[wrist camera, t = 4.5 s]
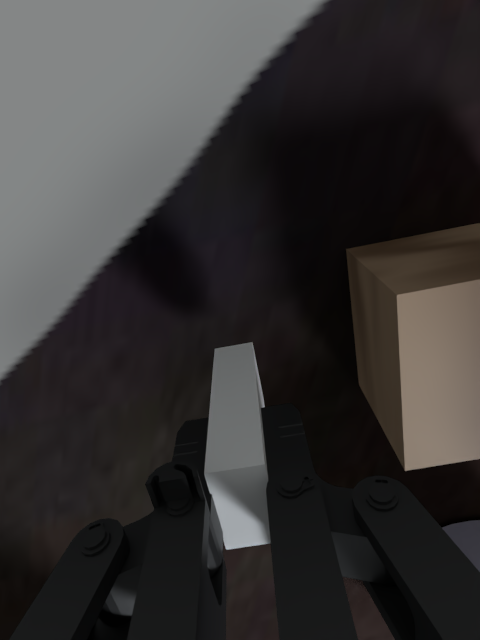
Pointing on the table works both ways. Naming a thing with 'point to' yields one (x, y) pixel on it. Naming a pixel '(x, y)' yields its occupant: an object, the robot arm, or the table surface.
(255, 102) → the table surface
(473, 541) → the lavender cylinder
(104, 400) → the table surface
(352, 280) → the block
